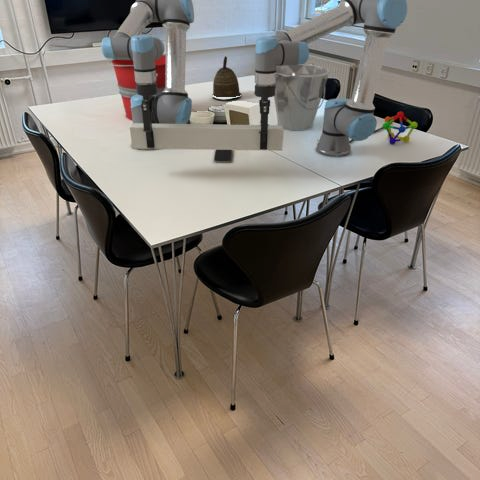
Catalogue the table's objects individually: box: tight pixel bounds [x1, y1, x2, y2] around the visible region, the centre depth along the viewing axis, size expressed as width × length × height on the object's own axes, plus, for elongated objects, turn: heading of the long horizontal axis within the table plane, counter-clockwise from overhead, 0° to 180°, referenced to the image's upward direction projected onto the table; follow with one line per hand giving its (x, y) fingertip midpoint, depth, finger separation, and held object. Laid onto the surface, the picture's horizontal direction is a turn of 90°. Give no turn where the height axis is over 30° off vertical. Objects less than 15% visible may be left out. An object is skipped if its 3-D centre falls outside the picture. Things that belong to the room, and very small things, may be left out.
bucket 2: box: [273, 63, 330, 131], centre depth 226 cm, size 30×30×28 cm
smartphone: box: [213, 150, 233, 163], centre depth 195 cm, size 7×1×15 cm
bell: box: [212, 56, 242, 97], centre depth 278 cm, size 19×26×20 cm
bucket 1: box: [108, 54, 166, 121], centre depth 240 cm, size 35×35×30 cm
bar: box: [129, 122, 285, 151], centre depth 169 cm, size 58×5×8 cm, turn 89°
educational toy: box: [382, 110, 418, 145], centre depth 207 cm, size 16×13×15 cm
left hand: (152, 144), depth 171 cm, fingers closed on bar, 5 cm apart
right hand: (263, 146), depth 171 cm, fingers closed on bar, 5 cm apart
